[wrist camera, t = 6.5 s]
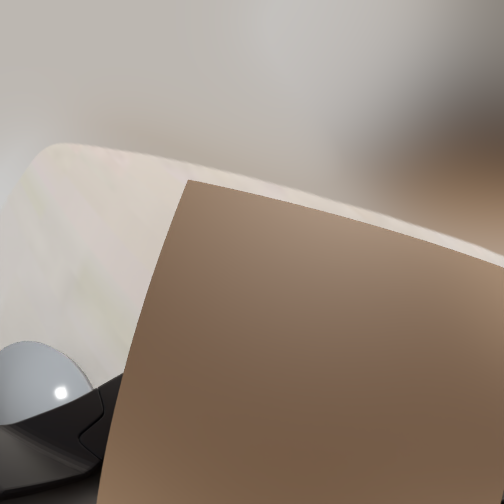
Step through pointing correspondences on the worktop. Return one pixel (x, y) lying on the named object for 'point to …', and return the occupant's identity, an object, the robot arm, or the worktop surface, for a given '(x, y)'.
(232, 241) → the walnut block
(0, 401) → the slate dish
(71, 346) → the worktop surface
